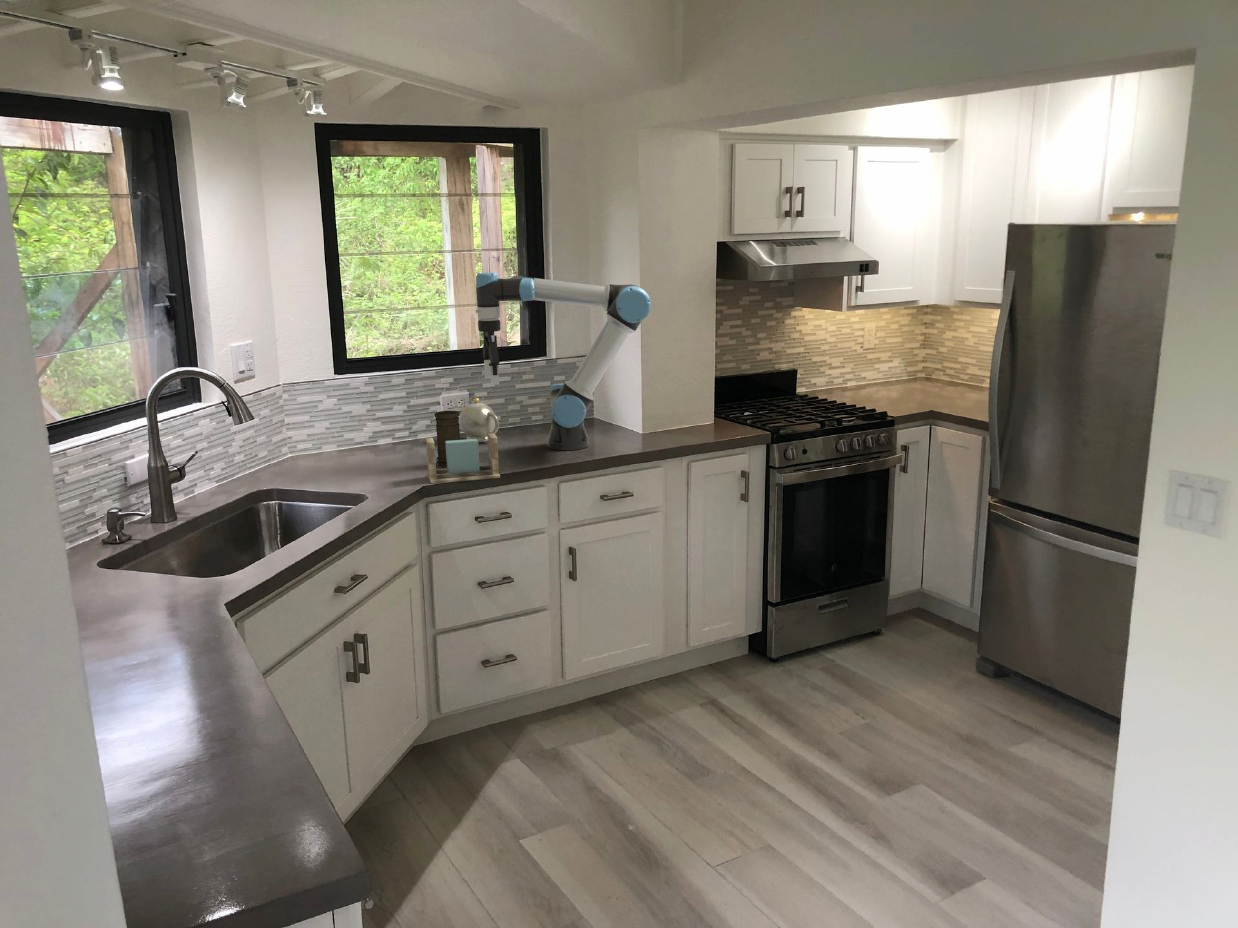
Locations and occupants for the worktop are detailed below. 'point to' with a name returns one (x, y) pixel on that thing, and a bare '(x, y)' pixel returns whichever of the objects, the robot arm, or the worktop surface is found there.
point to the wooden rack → (484, 472)
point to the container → (446, 432)
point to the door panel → (462, 456)
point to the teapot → (478, 421)
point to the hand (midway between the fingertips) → (492, 381)
